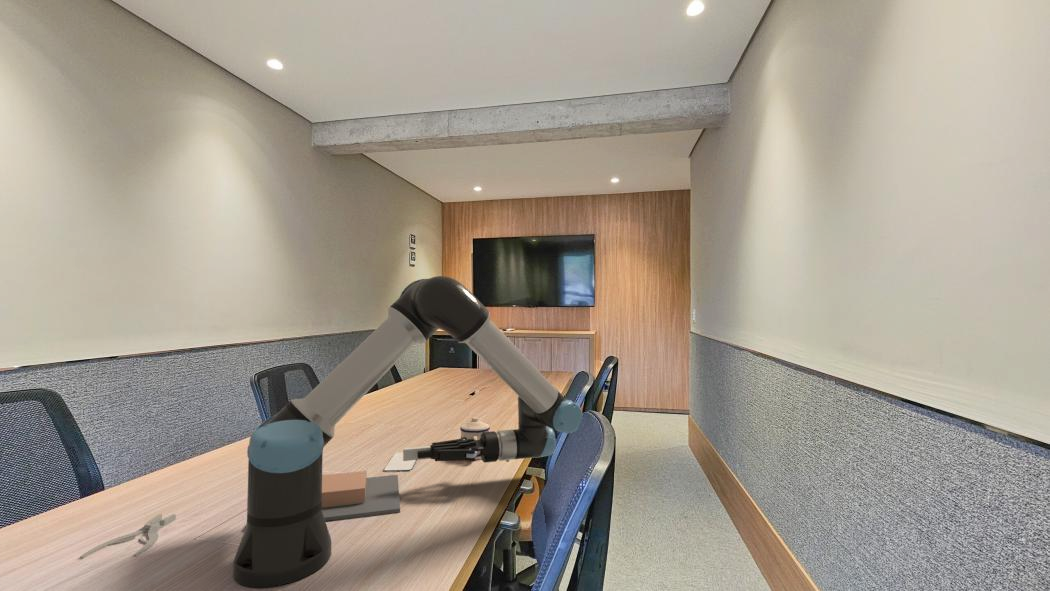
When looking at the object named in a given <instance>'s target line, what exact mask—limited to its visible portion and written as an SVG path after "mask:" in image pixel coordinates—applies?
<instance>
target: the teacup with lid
mask: <svg viewBox="0 0 1050 591" xmlns="http://www.w3.org/2000/svg"><path fill="white" fill-rule="evenodd" d="M490 429H491V428H490V425H489V424H488V423H486V422H483V421H481V420H480V419H479V417H478V416H474V417H472V418H471V420H470V421H468V422H466V423H464V424H462V425H461V426H460V438H464V437H466V438H467V439H474V440H480V436H481V434H482V433H483V432H490ZM477 460H478V461H480V460H482V458H481V456H479V457H476V458H475V461H477Z"/></svg>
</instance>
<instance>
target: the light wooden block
mask: <svg viewBox="0 0 1050 591" xmlns="http://www.w3.org/2000/svg"><path fill="white" fill-rule="evenodd" d="M367 472H368V471H367V470H360V471H352V472H351V471H349V472H341V473H339V472H338V473H330V474H322V508H324V507H333V506H341V505H350V504H358V503H363V502H365V494H366V484H367V478H368V473H367Z"/></svg>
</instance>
